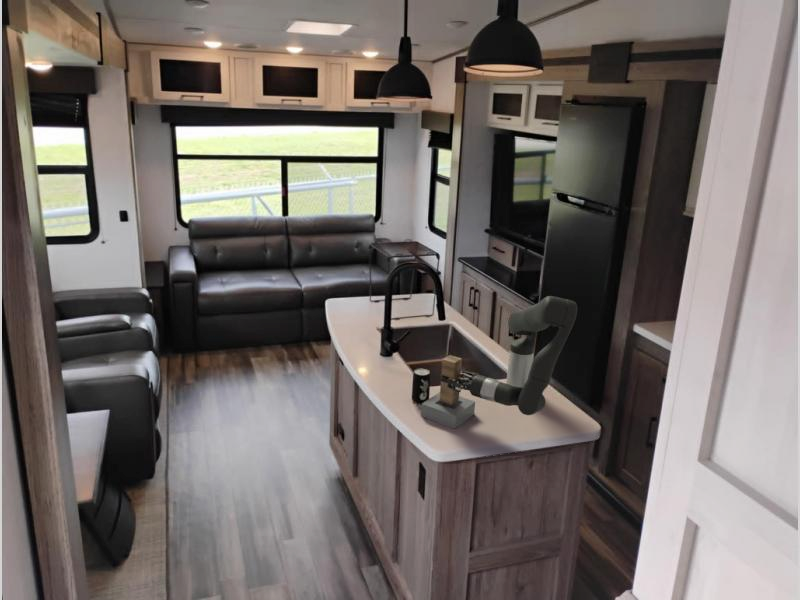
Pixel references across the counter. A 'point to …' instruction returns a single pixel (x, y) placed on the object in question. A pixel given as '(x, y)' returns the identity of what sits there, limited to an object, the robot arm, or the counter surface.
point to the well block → (448, 411)
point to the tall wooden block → (452, 370)
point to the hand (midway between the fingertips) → (444, 375)
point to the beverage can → (421, 385)
